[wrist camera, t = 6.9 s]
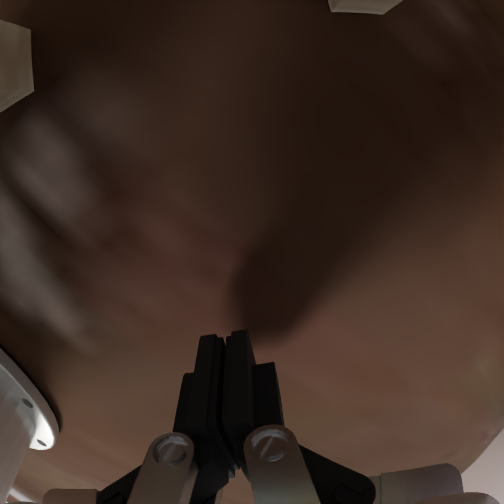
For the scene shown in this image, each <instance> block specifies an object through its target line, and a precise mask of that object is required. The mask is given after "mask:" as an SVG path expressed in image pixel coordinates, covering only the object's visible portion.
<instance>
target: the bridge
mask: <svg viewBox="0 0 504 504" xmlns="http://www.w3.org/2000/svg"><path fill="white" fill-rule="evenodd" d="M402 1H403V0H328V3H329V6H330V10H331V12H353V13H370V14H382V15H383V14H384V13H386V12H387V11H389V10H390V9H391V8H393V7H394V6H396V5H397V4H399V3H400V2H402ZM32 92H34V84H33V72H32V55H31V29H28V28H25V27H22V26H19V25H16V24H13V23H10V22H6V21H3V20H0V112H2V111H4V110H5V109H7V108H8V107H10V106H11V105H13V104H14V103H16V102H17V101H19V100H21V99H22V98H24V97H25V96H27V95H29V94H30V93H32Z"/></svg>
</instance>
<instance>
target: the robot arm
mask: <svg viewBox="0 0 504 504" xmlns="http://www.w3.org/2000/svg"><path fill="white" fill-rule="evenodd" d="M58 434H59V428H58V424H57V421H56V418H55V416H54V414H53V412H52V410H51V409H50V407H49V405H48V403H47V402H46V400H45V399H44V398H43V396H42V395H41V393H40V392H39V391H38V389H37V388H36V387H35V386H34V384H33V383H32V382H31V381H30V379H29V378H28V377H27V376H26V375H25V373H24V372H23V371H22V370H21V369H20V368H19V367H18V366H17V365H16V363H15V362H14V361H13V360H12V359H11V358H10V357H9V356H8V355H7V354H6V353H5V352H4V351H3V350H2V349H1V348H0V504H5V503H6V501H7V498H8V496H9V493H10V491H11V488H12V486H13V483H14V481H15V478H16V476H17V474H18V471H19V469H20V467H21V464H22V462H23V460H24V458H25V456H26V453H27V451H28V449H29V447H30V448H34V449H38V450H46V449H49V448H52V447H53V445H54V444H55V442H56V440H57V437H58ZM240 467H241V469H242V471H243V472H244V474H245V476H246V478H247V480H248V481H249V482H250V483H251V486H252V491H253V495H254V499H255V503H256V504H499V502H498V501H497V500H496V499H495V498H493V497H492V496H490V495H488V494H485V493H478V492H466V493H464V492H463V484H462V478H461V474H460V472H459V470H458V469H457V468H456V467H455V466H454V465H451V464H448V463H443V464H436V465H431V466H426V467H421V468H415V469H410V470H403V471H396V472H389V473H381V476H372V477H366V476H364V475H362V474H360V473H358V472H355V471H353V470H351V469H349V468H346V467H344V466H342V465H340V464H338V463H335V462H333V461H331V460H329V459H327V458H325V457H323V456H321V455H319V454H317V453H315V452H313V451H311V450H309V449H307V448H305V447H303V446H301V445H299V444H298V442H297V440H296V437H295V435H294V434H293V432H292V431H290V430H289V429H288V428H286V427H285V426H284V419H283V411H282V404H281V397H280V390H279V384H278V378H277V373H276V368H275V363H274V362H270V363H264V364H258V365H256V362H255V357H254V353H253V349H252V345H251V341H250V337H249V333H248V330H247V329H246V330H239V331H233V332H232V334H231V336H227V337H226V346H225V342H224V339H223V337H220V338H218V337H217V335H216V334H212V335H205V336H201V337H200V340H199V346H198V352H197V357H196V363H195V369H194V373H185V374H184V376H183V380H182V385H181V390H180V395H179V400H178V405H177V411H176V416H175V421H174V427H173V432H169V433H166V434H163V435H161V436H159V437H157V438H156V439H155V440H154V441H153V442H152V443H151V445H150V447H149V449H148V451H147V454H146V456H145V459H144V461H143V464H142V465H140V466H139V467H137V468H136V469H134V470H133V471H131V472H130V473H128V474H127V475H125V476H124V477H122V478H120V479H119V480H117V481H116V482H114V483H112V484H111V485H109V486H108V487H106V488H105V489H103V490H102V491H98V490H97V489H51V490H49V491H48V492H46V494H45V495H44V497H43V500H42V504H221V499H222V494H223V487H224V486H225V485H226V484H227V483H228V482H229V478H233V477H235V470H237V469H240ZM6 504H38V503H33V502H22V501H19V502H10V503H6Z"/></svg>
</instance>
